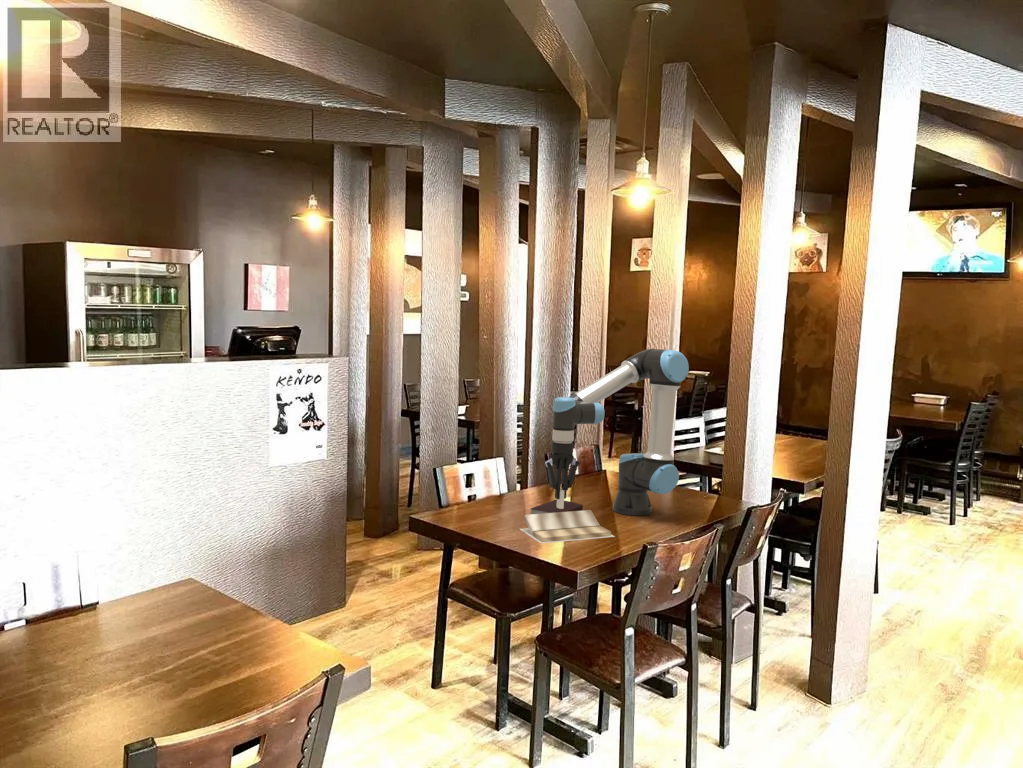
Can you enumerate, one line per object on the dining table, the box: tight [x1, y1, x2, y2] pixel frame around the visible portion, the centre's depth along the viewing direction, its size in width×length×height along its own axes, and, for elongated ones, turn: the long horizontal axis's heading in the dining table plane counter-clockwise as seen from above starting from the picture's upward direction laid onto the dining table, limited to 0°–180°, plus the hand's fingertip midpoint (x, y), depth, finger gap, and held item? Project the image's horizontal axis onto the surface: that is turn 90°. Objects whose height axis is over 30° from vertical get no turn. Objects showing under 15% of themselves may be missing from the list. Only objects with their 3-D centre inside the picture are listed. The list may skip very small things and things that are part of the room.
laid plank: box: [533, 525, 612, 542], centre depth 257 cm, size 26×8×2 cm, turn 112°
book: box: [529, 498, 584, 514], centre depth 293 cm, size 12×19×3 cm, turn 145°
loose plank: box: [523, 509, 601, 534], centre depth 264 cm, size 26×8×2 cm, turn 112°
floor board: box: [519, 527, 616, 544], centre depth 261 cm, size 28×18×1 cm, turn 112°
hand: (560, 507), depth 265 cm, fingers closed
